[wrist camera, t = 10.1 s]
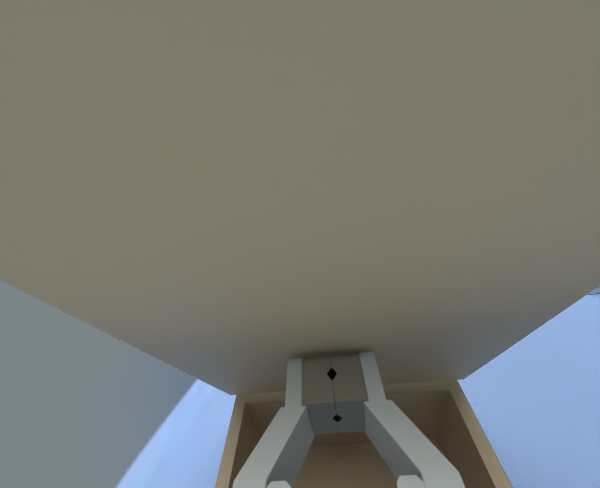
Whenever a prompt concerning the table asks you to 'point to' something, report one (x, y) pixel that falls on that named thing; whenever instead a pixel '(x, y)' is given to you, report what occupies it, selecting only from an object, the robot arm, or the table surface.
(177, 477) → the table surface
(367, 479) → the box
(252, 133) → the mailer lid
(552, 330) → the table surface
